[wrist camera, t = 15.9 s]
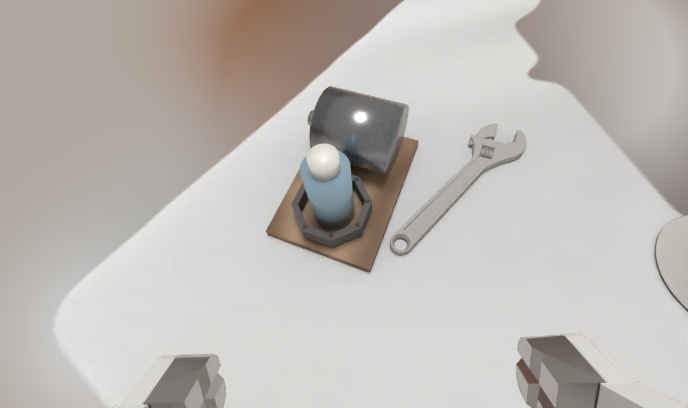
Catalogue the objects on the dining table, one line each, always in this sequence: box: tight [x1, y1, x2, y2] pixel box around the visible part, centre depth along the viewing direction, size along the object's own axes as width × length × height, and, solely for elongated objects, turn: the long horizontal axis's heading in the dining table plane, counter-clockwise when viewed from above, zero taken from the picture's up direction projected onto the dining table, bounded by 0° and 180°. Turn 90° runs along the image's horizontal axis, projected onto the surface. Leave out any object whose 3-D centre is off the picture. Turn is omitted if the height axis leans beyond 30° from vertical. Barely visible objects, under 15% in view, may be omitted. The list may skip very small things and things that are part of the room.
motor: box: [308, 86, 409, 175], centre depth 44 cm, size 12×9×9 cm
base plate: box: [266, 137, 418, 272], centre depth 46 cm, size 14×20×1 cm
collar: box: [291, 175, 372, 248], centre depth 42 cm, size 9×9×2 cm
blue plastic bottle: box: [300, 144, 355, 230], centre depth 38 cm, size 5×5×12 cm
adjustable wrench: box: [390, 123, 526, 255], centre depth 45 cm, size 25×6×2 cm, turn 130°
